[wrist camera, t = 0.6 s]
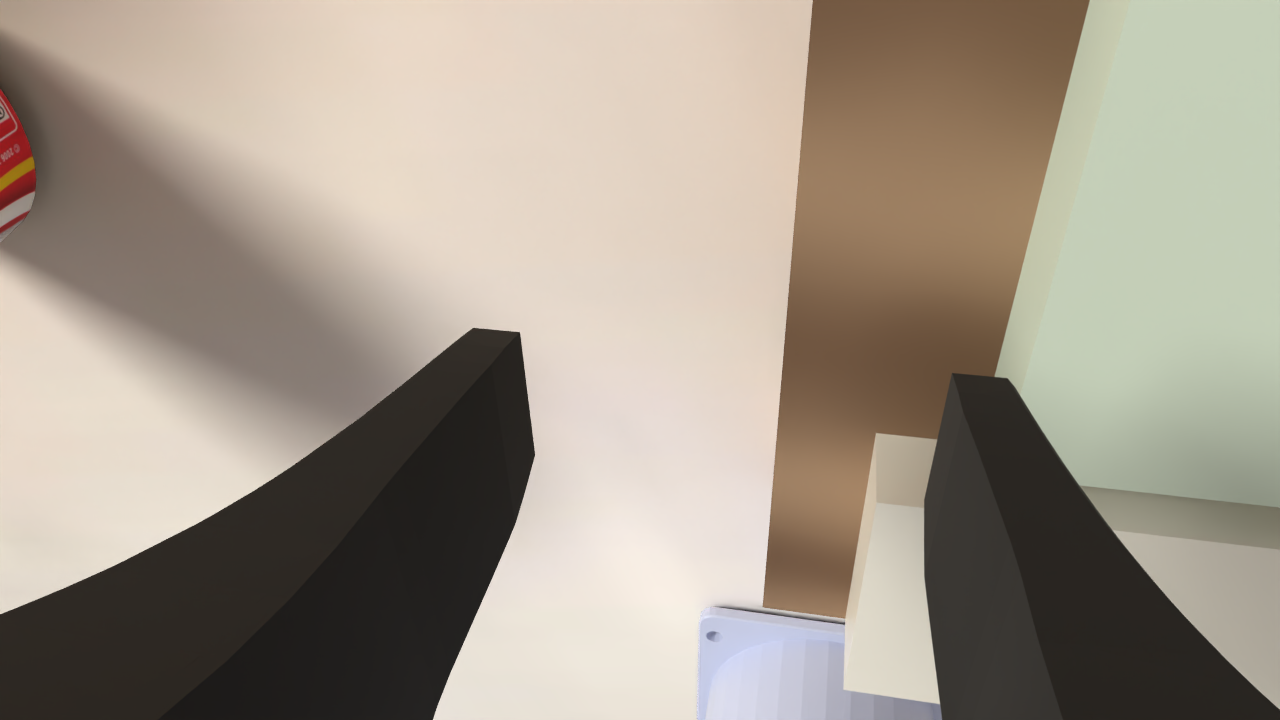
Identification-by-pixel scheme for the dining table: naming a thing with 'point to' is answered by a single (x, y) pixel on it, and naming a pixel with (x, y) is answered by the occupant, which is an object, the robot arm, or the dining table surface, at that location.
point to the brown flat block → (901, 245)
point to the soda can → (14, 170)
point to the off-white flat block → (1144, 522)
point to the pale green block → (1160, 256)
